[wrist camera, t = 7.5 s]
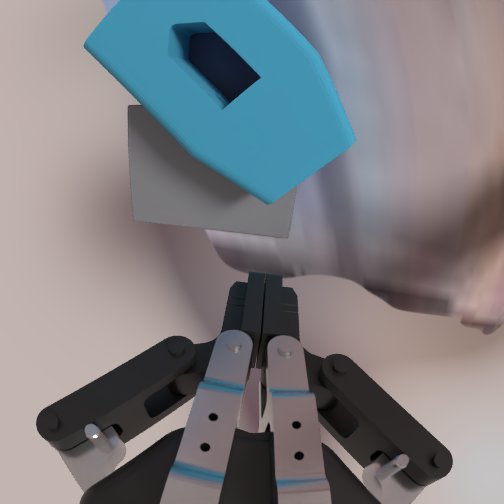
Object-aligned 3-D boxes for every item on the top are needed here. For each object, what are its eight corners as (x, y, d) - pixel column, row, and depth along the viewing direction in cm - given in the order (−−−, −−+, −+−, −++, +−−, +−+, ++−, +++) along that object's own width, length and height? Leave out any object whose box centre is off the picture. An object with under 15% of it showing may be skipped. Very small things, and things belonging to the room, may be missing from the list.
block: (247, 221, 23) (79, 48, 16) (253, 197, 27) (110, 50, 20) (378, 127, 18) (189, -62, 11) (360, 118, 22) (205, -41, 16)
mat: (307, 115, 23) (308, 116, 23) (287, 236, 30) (288, 238, 30) (129, 105, 24) (127, 105, 23) (135, 219, 30) (133, 220, 30)
